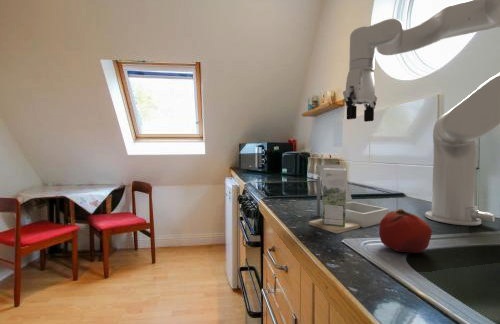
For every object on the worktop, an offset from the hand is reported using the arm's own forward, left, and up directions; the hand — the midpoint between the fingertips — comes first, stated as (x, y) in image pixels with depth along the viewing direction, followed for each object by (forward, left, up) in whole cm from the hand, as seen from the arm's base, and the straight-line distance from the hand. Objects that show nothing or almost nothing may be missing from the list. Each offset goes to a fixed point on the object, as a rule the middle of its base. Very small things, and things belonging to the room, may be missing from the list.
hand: (360, 120), depth 83 cm
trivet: (-8, +22, -30) cm, 38 cm away
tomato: (-26, +24, -31) cm, 47 cm away
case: (-6, +12, -30) cm, 33 cm away
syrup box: (-8, +22, -30) cm, 38 cm away
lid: (+1, +11, -20) cm, 23 cm away
